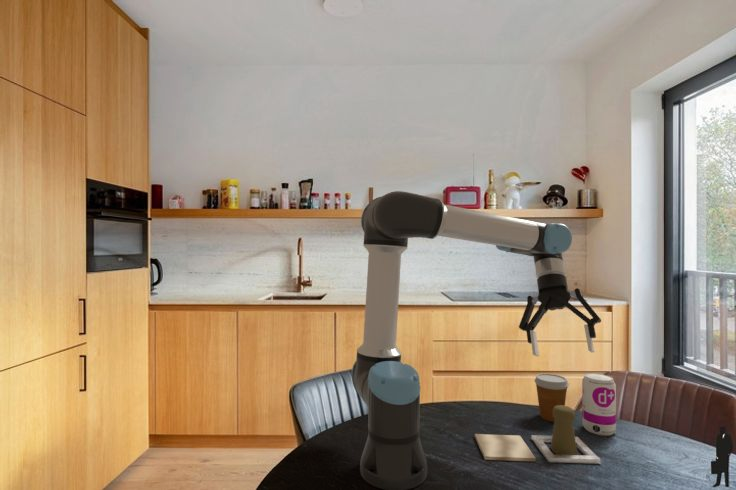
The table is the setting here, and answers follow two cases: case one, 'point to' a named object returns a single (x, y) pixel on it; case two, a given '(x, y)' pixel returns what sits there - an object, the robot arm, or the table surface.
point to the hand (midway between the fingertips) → (562, 353)
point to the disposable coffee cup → (550, 393)
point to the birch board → (504, 447)
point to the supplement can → (599, 404)
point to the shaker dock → (586, 458)
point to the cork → (563, 431)
